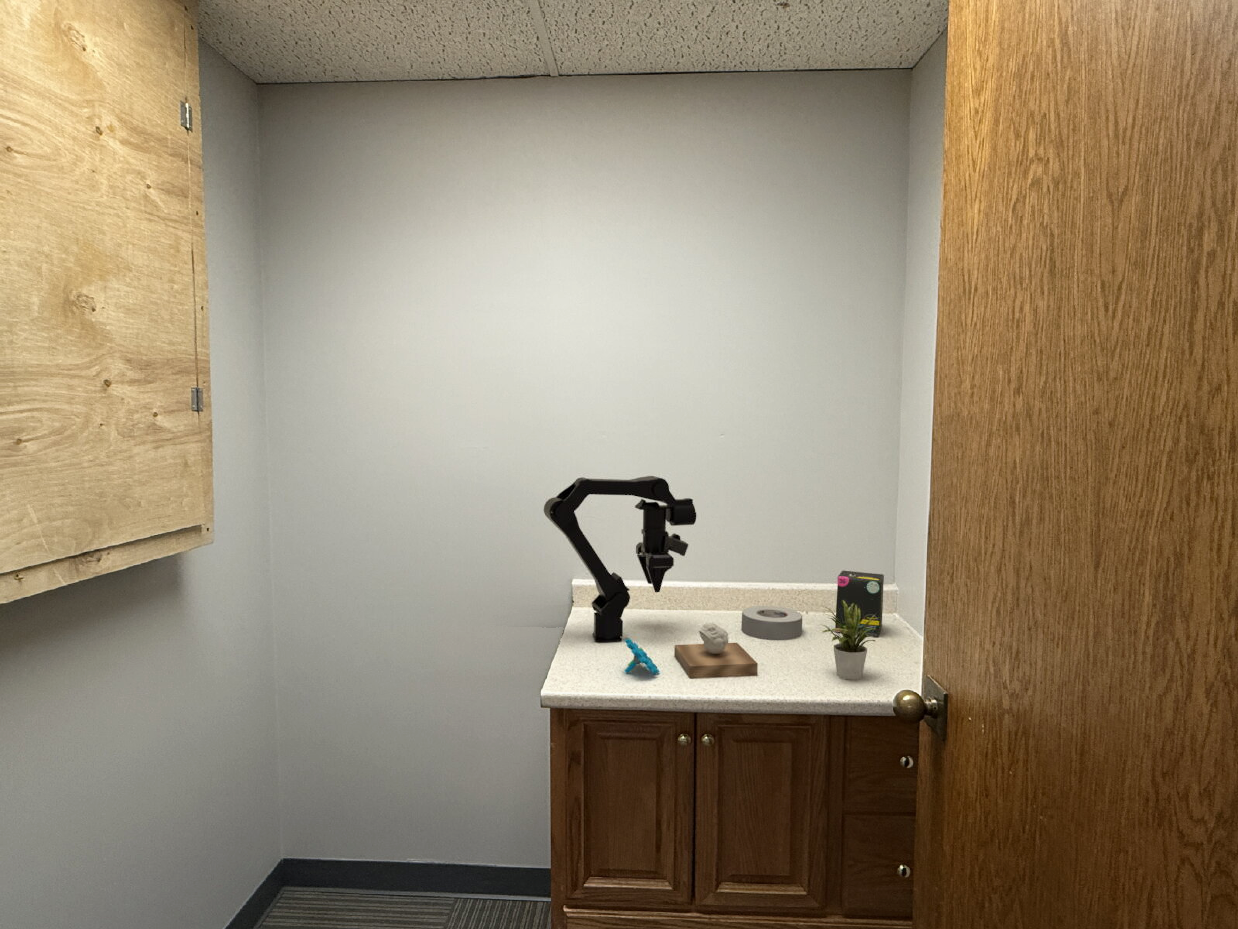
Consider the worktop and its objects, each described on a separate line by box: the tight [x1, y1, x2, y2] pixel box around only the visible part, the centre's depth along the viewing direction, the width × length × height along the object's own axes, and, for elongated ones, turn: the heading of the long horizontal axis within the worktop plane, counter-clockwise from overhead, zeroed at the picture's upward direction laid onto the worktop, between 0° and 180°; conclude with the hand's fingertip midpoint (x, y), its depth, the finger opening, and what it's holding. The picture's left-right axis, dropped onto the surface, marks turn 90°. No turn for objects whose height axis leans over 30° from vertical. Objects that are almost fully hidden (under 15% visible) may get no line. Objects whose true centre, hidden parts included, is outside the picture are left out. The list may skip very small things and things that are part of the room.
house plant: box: [819, 601, 876, 681], centre depth 174 cm, size 14×14×16 cm
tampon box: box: [834, 570, 885, 638], centre depth 207 cm, size 11×9×15 cm
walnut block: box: [673, 642, 759, 680], centre depth 179 cm, size 15×15×4 cm
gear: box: [624, 638, 660, 676], centre depth 174 cm, size 11×6×10 cm
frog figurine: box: [698, 622, 729, 654], centre depth 179 cm, size 6×7×7 cm
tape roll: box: [741, 605, 803, 641], centre depth 206 cm, size 15×15×5 cm
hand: (653, 587), depth 202 cm, fingers open, 9 cm apart
